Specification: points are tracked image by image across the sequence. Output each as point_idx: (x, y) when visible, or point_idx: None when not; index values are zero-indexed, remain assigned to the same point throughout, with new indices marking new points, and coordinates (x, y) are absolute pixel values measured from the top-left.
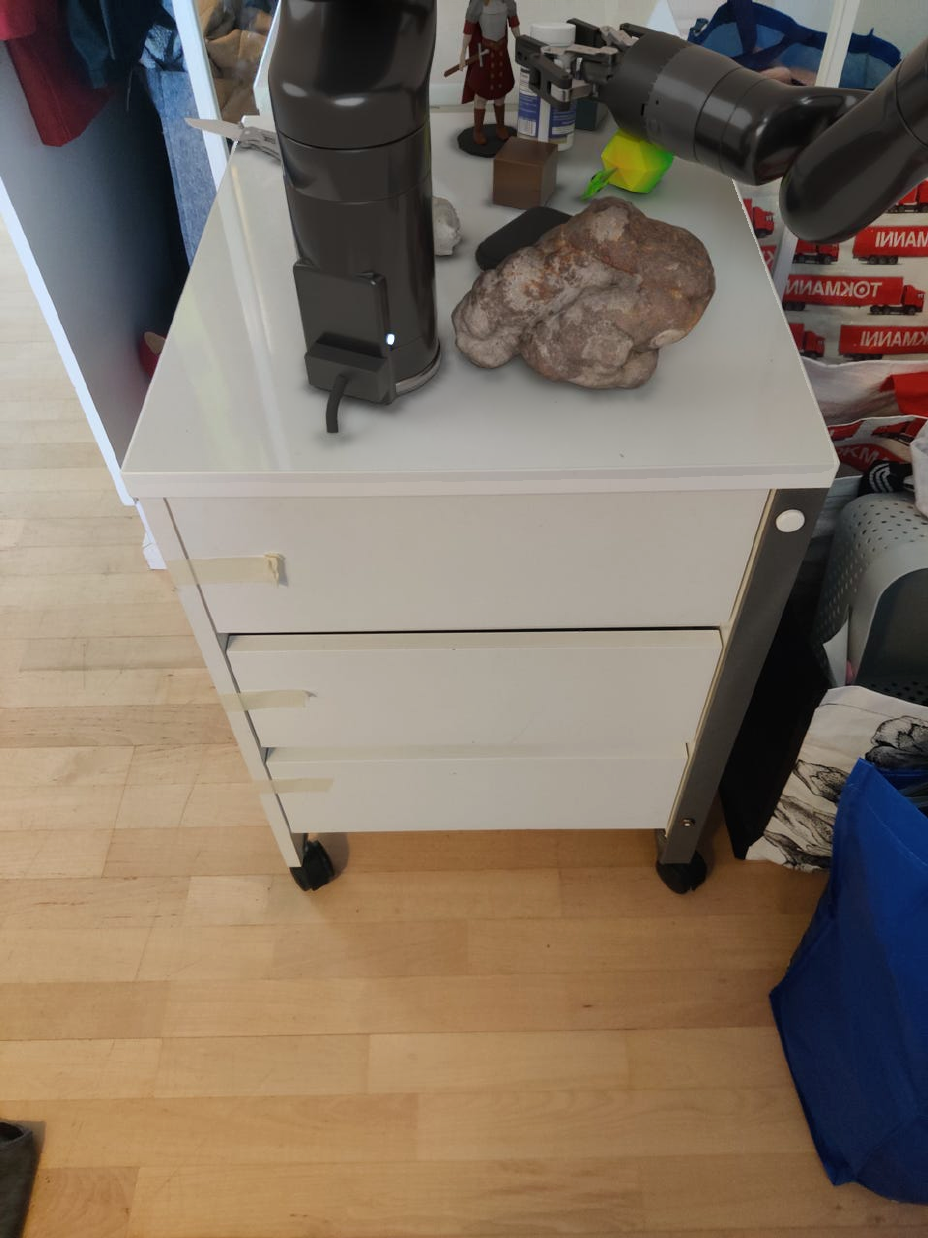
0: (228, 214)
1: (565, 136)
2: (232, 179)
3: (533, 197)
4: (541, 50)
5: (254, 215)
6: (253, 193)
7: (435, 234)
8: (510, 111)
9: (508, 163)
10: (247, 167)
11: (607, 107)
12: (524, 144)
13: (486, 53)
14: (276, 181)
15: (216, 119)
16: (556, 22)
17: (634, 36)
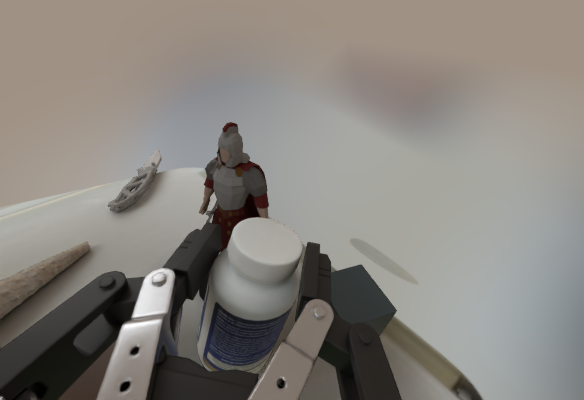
0: (22, 205)
1: None
2: (90, 187)
3: None
4: (148, 275)
5: (20, 216)
6: (66, 202)
7: None
8: (300, 260)
9: None
10: (113, 186)
11: (378, 334)
12: (108, 362)
13: (215, 214)
14: (92, 203)
15: (160, 156)
16: (293, 235)
17: (356, 384)
